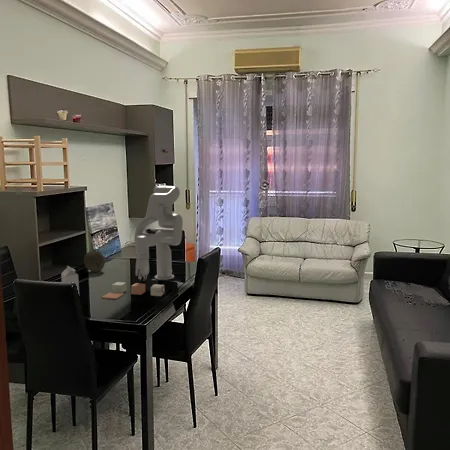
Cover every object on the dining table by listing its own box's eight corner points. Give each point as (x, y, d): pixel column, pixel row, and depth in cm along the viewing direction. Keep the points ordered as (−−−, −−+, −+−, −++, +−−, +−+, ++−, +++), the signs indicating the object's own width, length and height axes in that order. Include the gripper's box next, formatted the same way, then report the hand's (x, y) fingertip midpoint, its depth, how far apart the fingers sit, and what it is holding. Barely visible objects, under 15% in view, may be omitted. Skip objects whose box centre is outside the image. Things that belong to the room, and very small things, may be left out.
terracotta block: (135, 291, 267) (135, 283, 267) (145, 292, 266) (145, 283, 265) (131, 294, 261) (131, 285, 261) (140, 295, 260) (140, 286, 259)
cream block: (154, 292, 264) (154, 284, 264) (164, 293, 263) (164, 285, 262) (150, 295, 259) (150, 287, 258) (160, 296, 257) (160, 287, 256)
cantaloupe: (108, 269, 320) (107, 248, 318) (101, 274, 307) (100, 252, 304) (89, 269, 322) (88, 248, 320) (80, 274, 308) (79, 252, 306)
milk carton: (66, 303, 245) (64, 269, 242) (62, 300, 250) (60, 266, 248) (79, 301, 249) (77, 267, 246) (75, 297, 255) (73, 264, 252)
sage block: (117, 290, 270) (117, 281, 269) (126, 290, 269) (126, 282, 268) (112, 292, 264) (112, 284, 264) (121, 293, 263) (121, 285, 262)
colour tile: (109, 293, 262) (109, 292, 262) (123, 294, 260) (123, 293, 260) (101, 298, 253) (101, 296, 253) (116, 299, 251) (116, 298, 251)
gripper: (142, 253, 276) (142, 283, 278) (131, 258, 262) (132, 289, 264) (153, 254, 274) (154, 283, 277) (143, 259, 260) (144, 290, 262)
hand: (143, 286), depth 270 cm, fingers closed
